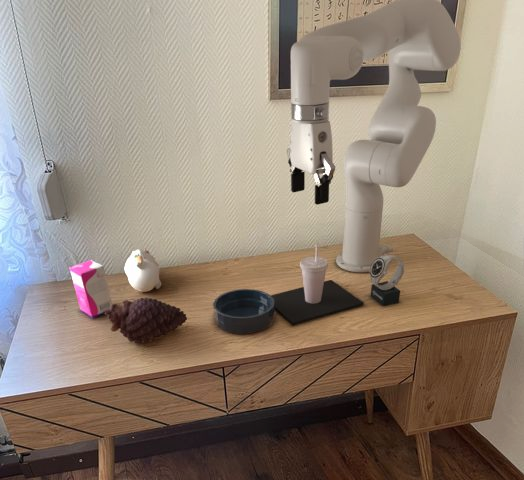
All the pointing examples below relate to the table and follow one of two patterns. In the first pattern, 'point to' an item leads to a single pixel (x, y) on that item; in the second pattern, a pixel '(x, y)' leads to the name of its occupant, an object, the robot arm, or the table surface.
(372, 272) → the watch
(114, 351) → the table surface
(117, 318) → the pine cone
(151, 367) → the table surface
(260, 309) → the dish
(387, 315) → the table surface
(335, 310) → the mat
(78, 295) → the supplement box
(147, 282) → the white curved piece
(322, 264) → the smoothie
